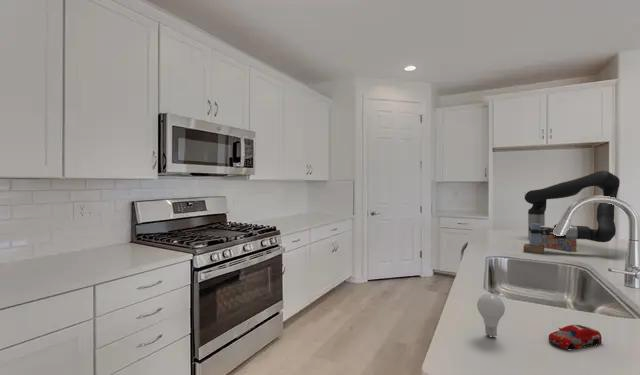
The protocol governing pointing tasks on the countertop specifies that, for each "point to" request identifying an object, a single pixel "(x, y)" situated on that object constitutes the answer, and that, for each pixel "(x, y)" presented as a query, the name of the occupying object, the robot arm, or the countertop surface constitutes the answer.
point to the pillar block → (535, 235)
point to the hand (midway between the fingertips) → (529, 230)
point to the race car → (575, 337)
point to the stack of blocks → (557, 242)
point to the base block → (534, 249)
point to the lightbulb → (491, 312)
